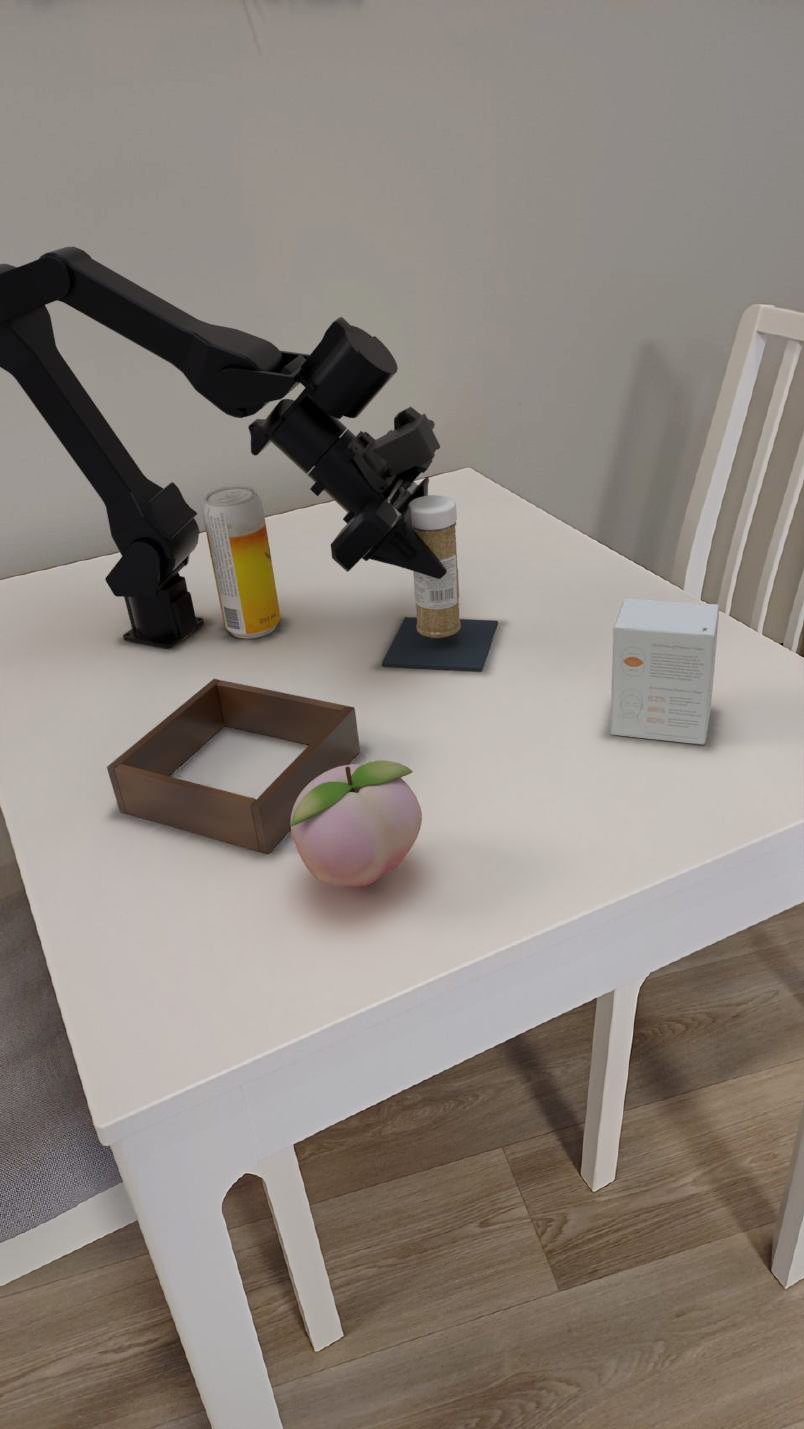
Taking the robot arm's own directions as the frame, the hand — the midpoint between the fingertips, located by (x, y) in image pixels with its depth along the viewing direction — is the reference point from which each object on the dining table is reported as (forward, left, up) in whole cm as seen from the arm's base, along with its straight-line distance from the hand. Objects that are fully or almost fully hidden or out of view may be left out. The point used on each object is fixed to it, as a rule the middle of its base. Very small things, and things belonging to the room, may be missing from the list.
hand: (448, 565), depth 96 cm
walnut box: (-7, -27, -9) cm, 29 cm away
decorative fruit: (+8, -34, -9) cm, 36 cm away
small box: (+23, -7, -9) cm, 26 cm away
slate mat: (-1, 0, -9) cm, 9 cm away
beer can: (-22, -3, -9) cm, 24 cm away
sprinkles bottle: (-1, 0, -7) cm, 7 cm away
